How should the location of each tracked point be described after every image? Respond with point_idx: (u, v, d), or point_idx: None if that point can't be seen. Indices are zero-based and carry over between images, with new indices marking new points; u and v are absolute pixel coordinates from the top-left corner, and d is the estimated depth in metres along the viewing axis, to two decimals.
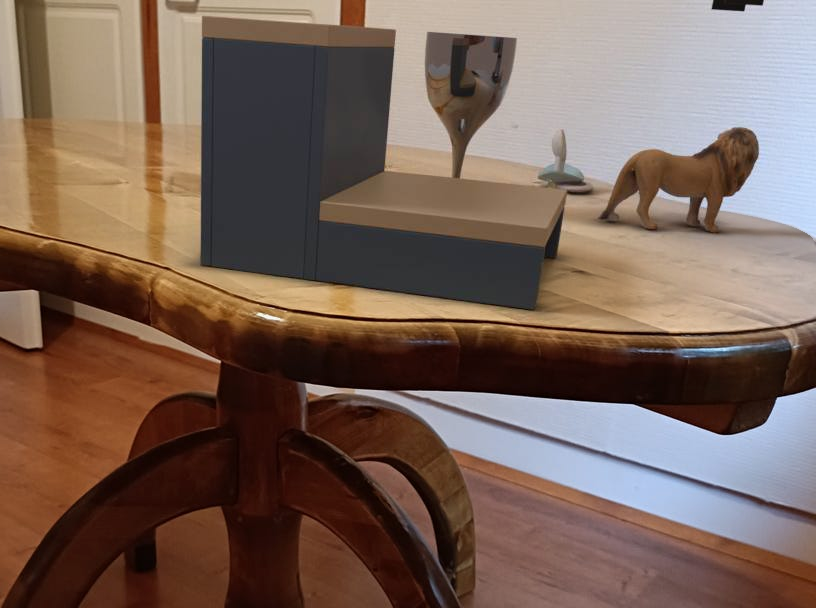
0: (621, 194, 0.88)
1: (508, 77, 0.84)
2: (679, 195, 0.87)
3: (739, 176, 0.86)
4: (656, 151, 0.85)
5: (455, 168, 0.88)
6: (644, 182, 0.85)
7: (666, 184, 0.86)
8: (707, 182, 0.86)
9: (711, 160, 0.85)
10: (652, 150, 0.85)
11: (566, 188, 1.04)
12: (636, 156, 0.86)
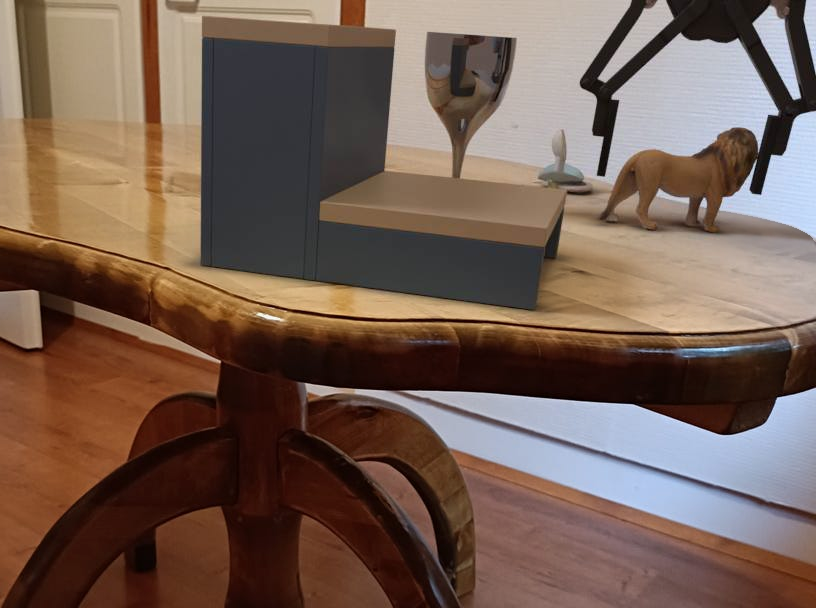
0: (621, 194, 0.88)
1: (508, 77, 0.84)
2: (679, 195, 0.87)
3: (738, 176, 0.86)
4: (656, 151, 0.85)
5: (455, 168, 0.88)
6: (644, 182, 0.85)
7: (666, 184, 0.86)
8: (707, 182, 0.86)
9: (711, 160, 0.85)
10: (652, 150, 0.85)
11: (566, 188, 1.04)
12: (636, 156, 0.86)
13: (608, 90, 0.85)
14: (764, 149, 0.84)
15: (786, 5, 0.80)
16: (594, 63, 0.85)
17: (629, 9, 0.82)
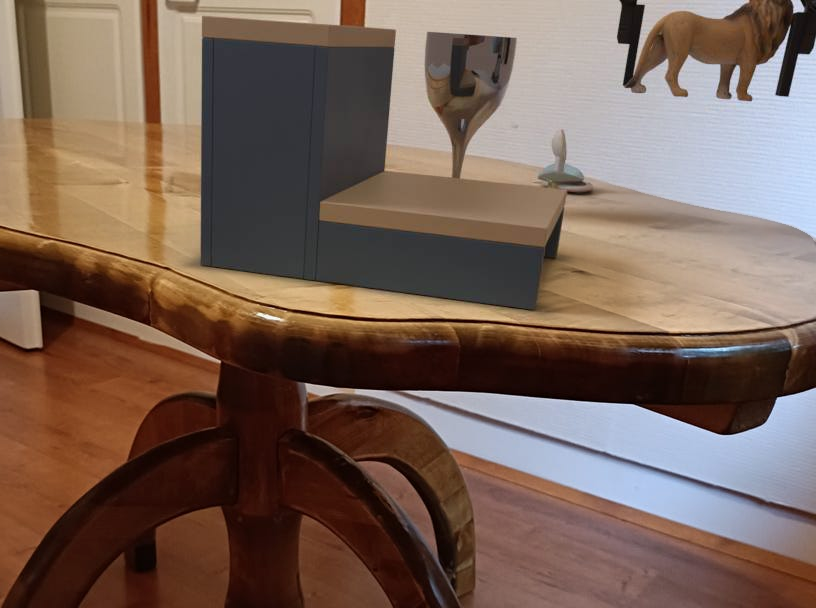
0: (648, 63, 0.83)
1: (508, 77, 0.84)
2: (710, 61, 0.82)
3: (773, 38, 0.81)
4: (685, 12, 0.80)
5: (455, 168, 0.88)
6: (673, 45, 0.81)
7: (696, 48, 0.81)
8: (740, 45, 0.81)
9: (744, 21, 0.81)
10: (681, 12, 0.81)
11: (566, 188, 1.04)
12: (664, 19, 0.81)
13: None
14: (791, 47, 0.80)
15: None
16: None
17: None
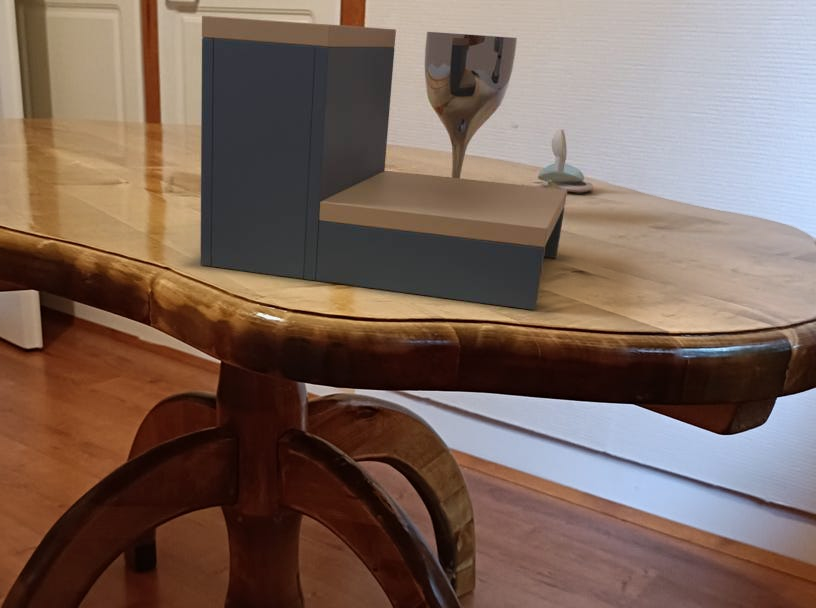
0: None
1: (508, 77, 0.84)
2: None
3: None
4: None
5: (455, 168, 0.88)
6: None
7: None
8: None
9: None
10: None
11: (566, 188, 1.04)
12: None
13: None
14: None
15: None
16: None
17: None
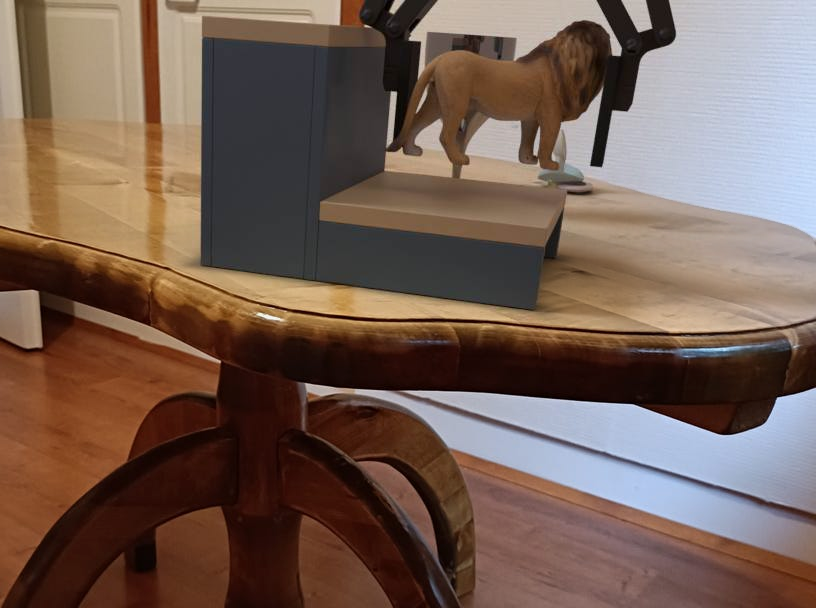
0: (422, 118, 0.63)
1: None
2: (500, 117, 0.61)
3: (582, 88, 0.60)
4: (462, 52, 0.60)
5: (455, 168, 0.88)
6: (447, 97, 0.60)
7: (479, 101, 0.61)
8: (537, 97, 0.60)
9: (541, 65, 0.60)
10: (457, 51, 0.60)
11: (566, 188, 1.04)
12: (435, 60, 0.60)
13: (397, 25, 0.61)
14: (601, 102, 0.59)
15: None
16: None
17: None
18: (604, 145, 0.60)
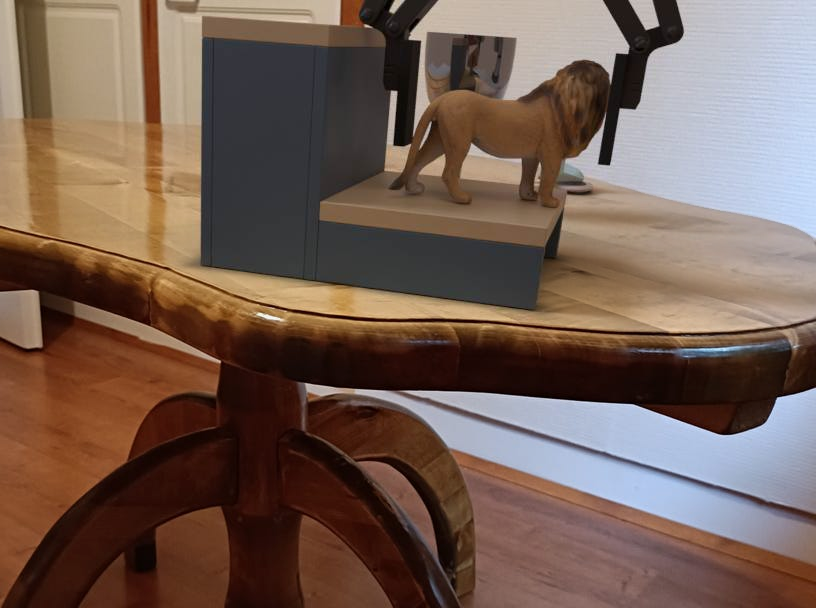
0: (424, 155, 0.63)
1: (508, 77, 0.84)
2: (501, 155, 0.62)
3: (582, 128, 0.61)
4: (464, 92, 0.60)
5: None
6: (449, 136, 0.61)
7: (481, 139, 0.61)
8: (538, 137, 0.61)
9: (542, 105, 0.61)
10: (459, 91, 0.61)
11: (566, 188, 1.04)
12: (438, 100, 0.61)
13: (397, 24, 0.61)
14: (609, 100, 0.59)
15: None
16: None
17: None
18: (612, 143, 0.60)
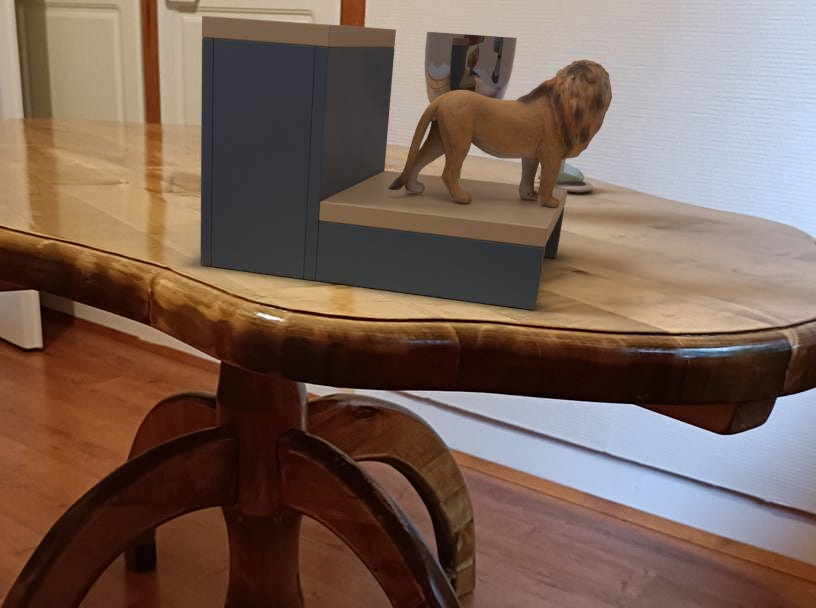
0: (424, 155, 0.63)
1: (508, 77, 0.84)
2: (501, 155, 0.62)
3: (582, 128, 0.61)
4: (464, 92, 0.60)
5: None
6: (449, 136, 0.61)
7: (481, 139, 0.61)
8: (538, 136, 0.61)
9: (542, 104, 0.61)
10: (459, 91, 0.61)
11: (566, 188, 1.04)
12: (438, 100, 0.61)
13: None
14: None
15: None
16: None
17: None
18: None
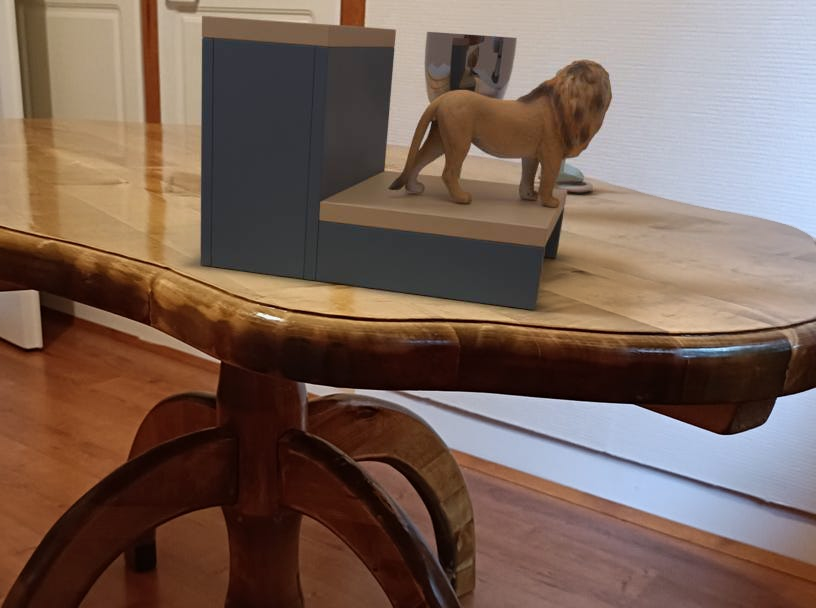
0: (424, 155, 0.63)
1: (508, 77, 0.84)
2: (501, 155, 0.62)
3: (582, 128, 0.61)
4: (464, 92, 0.60)
5: None
6: (449, 136, 0.61)
7: (481, 139, 0.61)
8: (538, 136, 0.61)
9: (542, 104, 0.61)
10: (459, 91, 0.61)
11: (566, 188, 1.04)
12: (438, 100, 0.61)
13: None
14: None
15: None
16: None
17: None
18: None
